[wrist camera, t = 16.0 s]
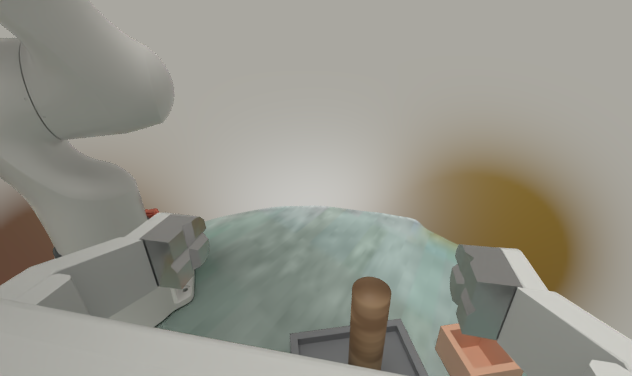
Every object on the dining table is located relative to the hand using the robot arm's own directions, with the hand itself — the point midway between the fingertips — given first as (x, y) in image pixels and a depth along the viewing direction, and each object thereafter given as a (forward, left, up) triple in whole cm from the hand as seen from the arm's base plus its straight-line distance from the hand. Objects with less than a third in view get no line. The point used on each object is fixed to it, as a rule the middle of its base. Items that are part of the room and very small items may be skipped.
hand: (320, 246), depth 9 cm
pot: (-13, +22, -32) cm, 41 cm away
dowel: (-12, +7, -31) cm, 34 cm away
